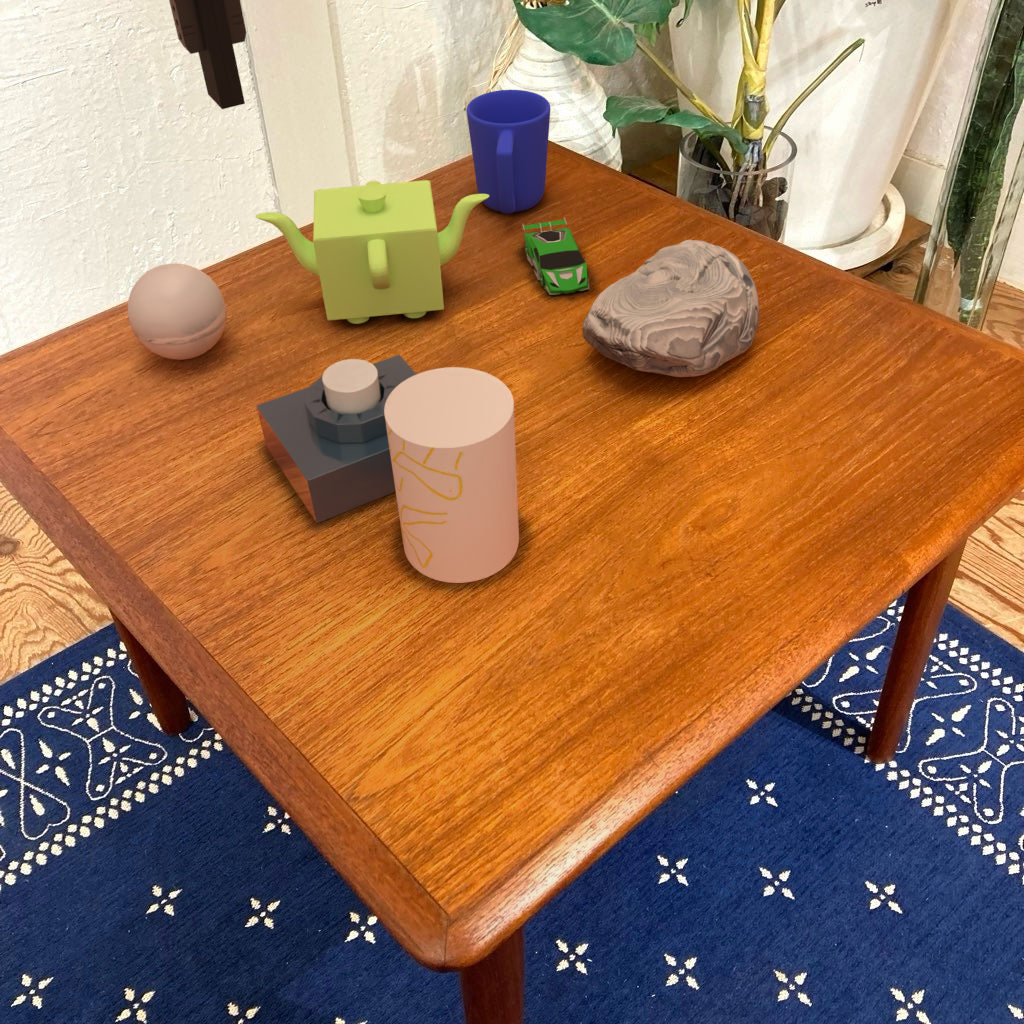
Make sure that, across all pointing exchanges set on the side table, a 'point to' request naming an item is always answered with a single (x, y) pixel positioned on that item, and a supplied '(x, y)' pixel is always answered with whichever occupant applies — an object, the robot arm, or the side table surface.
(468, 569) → the doodled pink cylinder
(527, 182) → the mug
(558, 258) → the toy car
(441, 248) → the teapot
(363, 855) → the side table surface
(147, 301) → the bath bomb
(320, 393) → the push button box
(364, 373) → the button
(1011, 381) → the side table surface
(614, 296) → the decorative stone
